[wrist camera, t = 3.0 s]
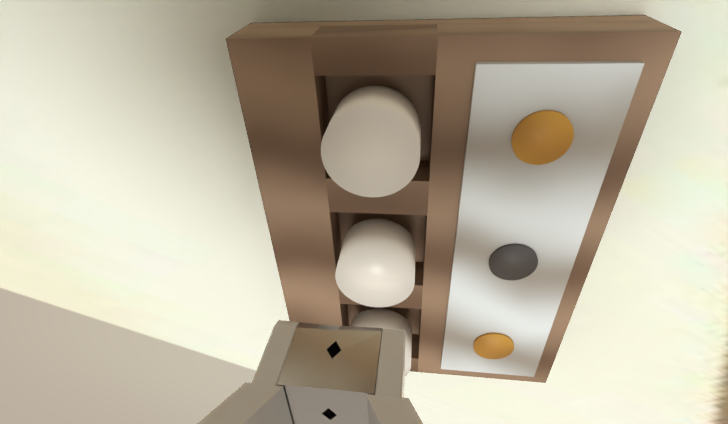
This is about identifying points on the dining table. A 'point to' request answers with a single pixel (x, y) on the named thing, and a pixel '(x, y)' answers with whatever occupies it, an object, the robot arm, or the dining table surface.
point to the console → (457, 168)
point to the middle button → (377, 263)
